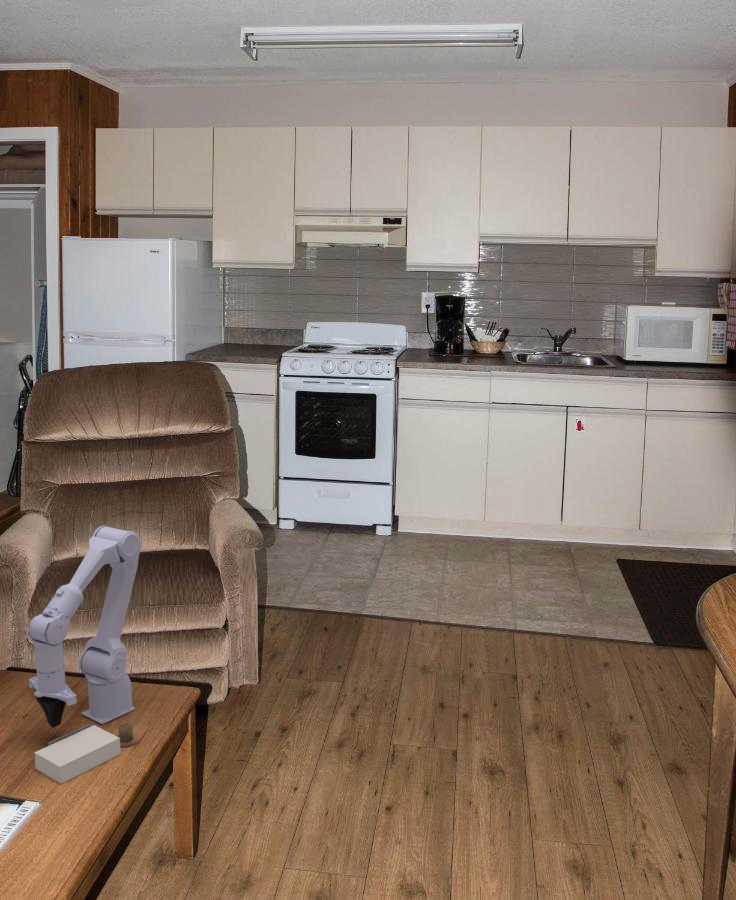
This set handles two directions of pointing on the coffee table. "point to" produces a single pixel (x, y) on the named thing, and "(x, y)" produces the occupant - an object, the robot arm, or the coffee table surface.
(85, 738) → the player
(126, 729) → the stand
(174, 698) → the coffee table surface
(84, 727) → the tray
